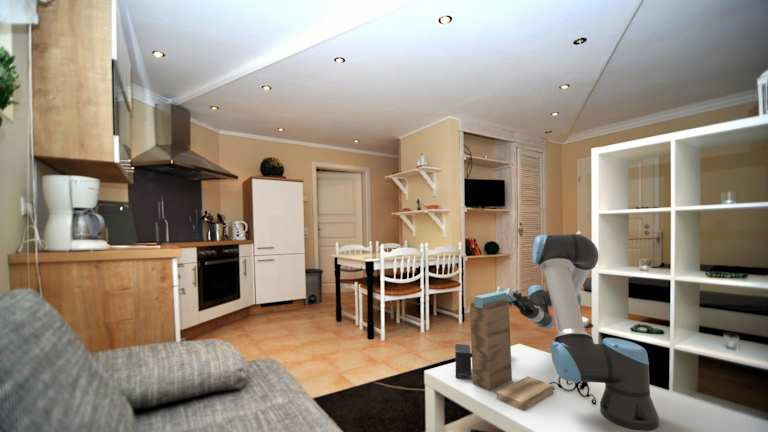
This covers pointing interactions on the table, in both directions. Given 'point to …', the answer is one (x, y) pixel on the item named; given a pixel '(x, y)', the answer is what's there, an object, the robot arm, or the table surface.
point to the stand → (491, 345)
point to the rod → (492, 298)
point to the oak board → (524, 392)
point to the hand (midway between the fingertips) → (503, 290)
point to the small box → (463, 361)
